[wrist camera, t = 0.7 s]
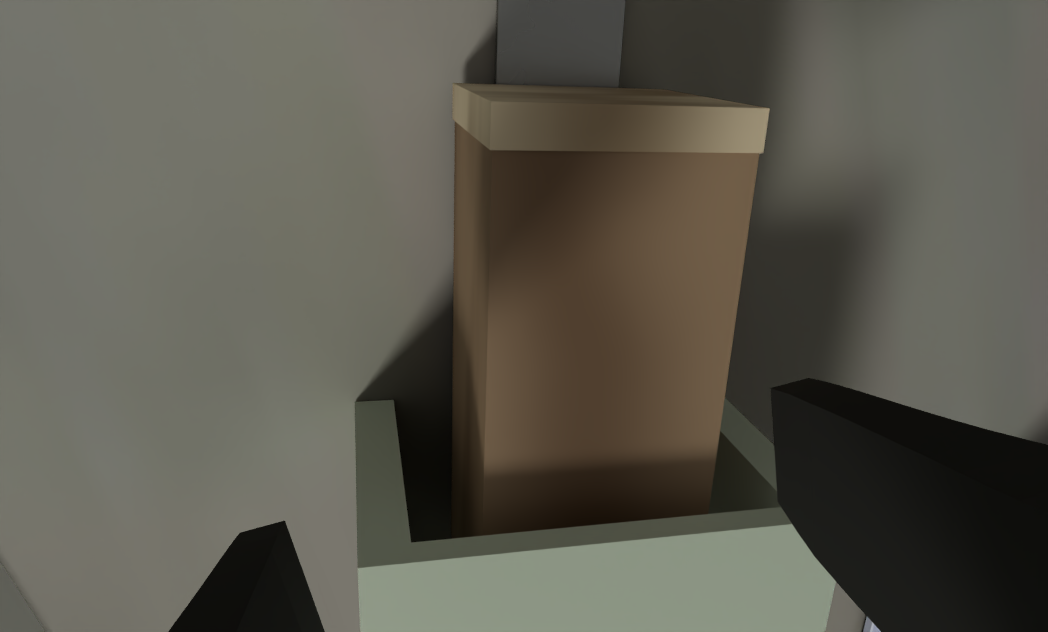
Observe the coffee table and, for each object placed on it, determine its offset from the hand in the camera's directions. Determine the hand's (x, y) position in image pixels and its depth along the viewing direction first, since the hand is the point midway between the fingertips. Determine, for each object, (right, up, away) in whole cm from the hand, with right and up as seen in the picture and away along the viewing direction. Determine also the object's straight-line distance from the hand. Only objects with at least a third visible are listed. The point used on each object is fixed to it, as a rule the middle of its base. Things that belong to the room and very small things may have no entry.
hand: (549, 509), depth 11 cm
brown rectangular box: (0, +3, +9) cm, 10 cm away
